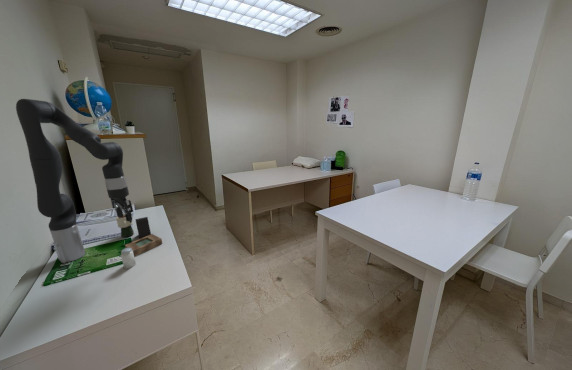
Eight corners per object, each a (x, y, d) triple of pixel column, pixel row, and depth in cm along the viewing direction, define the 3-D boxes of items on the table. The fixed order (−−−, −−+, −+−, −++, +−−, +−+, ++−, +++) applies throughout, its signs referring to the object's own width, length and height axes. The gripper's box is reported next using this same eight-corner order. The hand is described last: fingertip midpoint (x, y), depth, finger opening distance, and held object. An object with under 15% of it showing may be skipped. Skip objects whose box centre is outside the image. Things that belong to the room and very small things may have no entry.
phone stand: (138, 234, 129) (134, 217, 126) (150, 231, 133) (146, 214, 129) (139, 241, 122) (135, 222, 119) (151, 237, 126) (148, 219, 123)
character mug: (135, 237, 126) (131, 217, 123) (120, 241, 122) (116, 220, 119) (134, 230, 135) (130, 211, 131) (120, 233, 130) (115, 214, 127)
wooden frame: (135, 256, 108) (134, 250, 108) (126, 250, 113) (124, 245, 112) (162, 243, 120) (161, 238, 119) (152, 238, 125) (152, 233, 124)
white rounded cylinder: (126, 269, 98) (123, 254, 96) (122, 266, 101) (118, 250, 98) (137, 264, 102) (134, 249, 100) (132, 261, 104) (129, 246, 102)
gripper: (100, 186, 97) (108, 218, 101) (114, 191, 90) (123, 225, 94) (118, 182, 103) (126, 213, 107) (134, 186, 96) (141, 218, 101)
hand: (125, 218), depth 101 cm, fingers open, 8 cm apart
